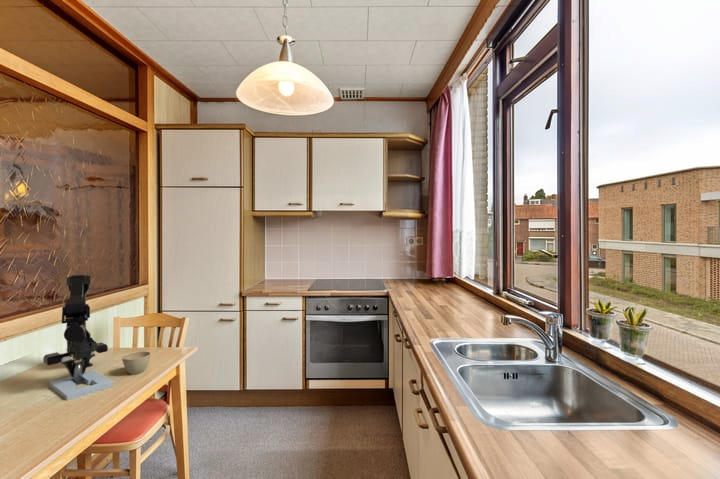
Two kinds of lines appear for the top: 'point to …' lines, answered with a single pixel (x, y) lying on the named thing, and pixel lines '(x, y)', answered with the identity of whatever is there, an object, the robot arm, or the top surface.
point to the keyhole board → (70, 391)
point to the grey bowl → (136, 361)
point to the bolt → (77, 370)
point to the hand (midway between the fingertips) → (77, 375)
